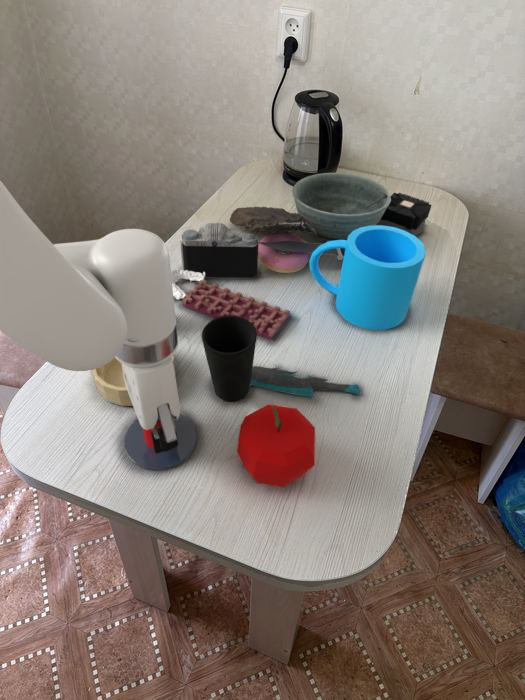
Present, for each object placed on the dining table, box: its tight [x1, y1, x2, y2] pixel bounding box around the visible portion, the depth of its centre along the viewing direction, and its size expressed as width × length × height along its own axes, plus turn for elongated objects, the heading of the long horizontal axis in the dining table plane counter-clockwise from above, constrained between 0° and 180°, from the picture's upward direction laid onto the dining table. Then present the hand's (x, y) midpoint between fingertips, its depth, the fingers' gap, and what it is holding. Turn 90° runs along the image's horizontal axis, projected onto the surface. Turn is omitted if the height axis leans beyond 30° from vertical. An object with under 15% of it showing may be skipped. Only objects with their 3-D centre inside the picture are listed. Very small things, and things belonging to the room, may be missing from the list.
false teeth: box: [171, 267, 206, 300], centre depth 96 cm, size 8×6×2 cm
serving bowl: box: [91, 354, 176, 407], centre depth 78 cm, size 12×12×4 cm
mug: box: [308, 224, 426, 331], centre depth 91 cm, size 20×13×13 cm
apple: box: [236, 400, 316, 488], centre depth 66 cm, size 11×11×10 cm
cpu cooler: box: [378, 192, 432, 237], centre depth 115 cm, size 10×6×10 cm
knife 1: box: [258, 241, 345, 261], centre depth 101 cm, size 30×2×5 cm
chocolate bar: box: [182, 279, 291, 341], centre depth 92 cm, size 7×19×2 cm, turn 62°
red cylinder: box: [143, 422, 162, 449], centre depth 69 cm, size 4×4×6 cm
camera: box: [179, 222, 259, 280], centre depth 98 cm, size 15×7×10 cm, turn 92°
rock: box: [229, 206, 316, 235], centre depth 104 cm, size 25×4×15 cm
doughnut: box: [258, 231, 311, 274], centre depth 103 cm, size 11×11×4 cm
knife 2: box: [250, 365, 361, 399], centre depth 80 cm, size 24×1×5 cm
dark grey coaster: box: [123, 413, 197, 471], centre depth 71 cm, size 10×10×1 cm
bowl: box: [291, 172, 391, 242], centre depth 110 cm, size 21×21×10 cm
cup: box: [201, 315, 258, 403], centre depth 74 cm, size 8×8×12 cm
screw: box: [364, 194, 388, 209], centre depth 103 cm, size 8×1×1 cm, turn 137°
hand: (159, 431), depth 70 cm, fingers open, 5 cm apart
